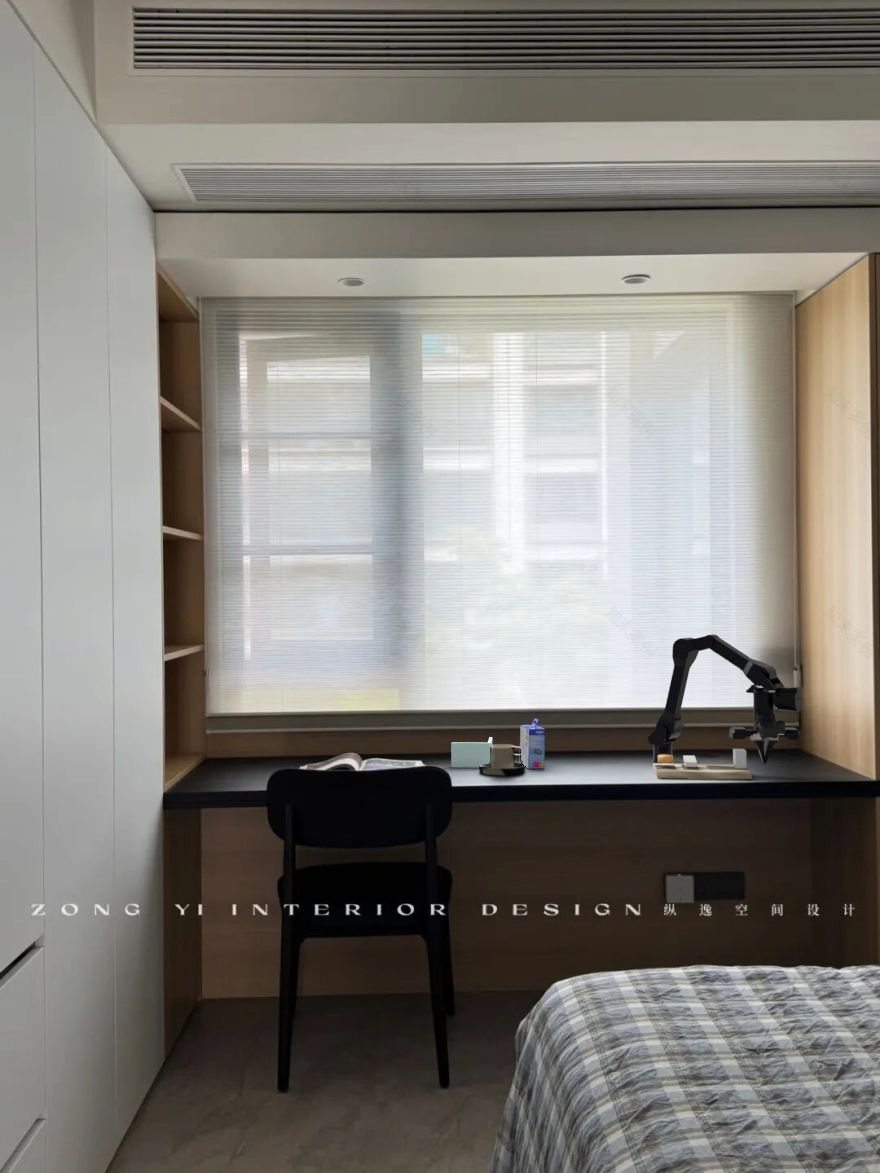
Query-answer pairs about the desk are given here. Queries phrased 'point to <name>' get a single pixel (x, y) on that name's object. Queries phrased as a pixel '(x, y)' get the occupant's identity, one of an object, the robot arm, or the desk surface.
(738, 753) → the metal slider
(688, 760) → the block
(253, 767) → the desk surface
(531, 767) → the ink cartridge box
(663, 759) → the orange button
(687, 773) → the control panel
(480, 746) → the right angle wall
